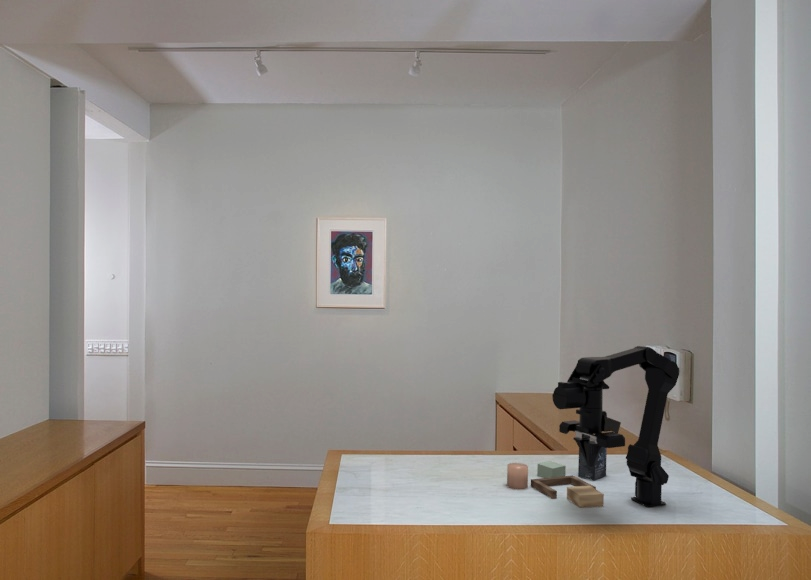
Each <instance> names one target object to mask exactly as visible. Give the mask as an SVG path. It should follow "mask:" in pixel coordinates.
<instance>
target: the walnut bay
mask: <svg viewBox="0 0 811 580" xmlns="http://www.w3.org/2000/svg"><path fill="white" fill-rule="evenodd" d="M565 485H566V486H567V485H572V486H573V487H575V486H591V487H593V488H595V489H596V490H597V486H595V485H592V484H591V483H589V482H586V481H585V480H583V479H580V478H579V477H576V476H574V475H565V476H561V477H551V478H542V477H539V478H533V479H530V487H531V488H532V489H534V490H536V491H538V492H539V493H542V494H544V495H545V496H547V497H548V498H550V499H552V500H554V499H557V496H558V495H557V494H558V492H557V490H556V489H555V488H552V487H555V486H565Z"/></svg>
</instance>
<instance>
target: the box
mask: <svg viewBox="0 0 811 580" xmlns="http://www.w3.org/2000/svg"><path fill="white" fill-rule="evenodd" d="M607 450H608V448H605V447H601V449H600V451H599V453H598V455H597V458H596V460H595V463H594V466H593V467H589V466H588V465H587V463H586V461H585V459H584V457H583V454H582V452H581V450H580V448H579V447H578V468H577V470H578V471H577V476H578V478H579V477H580V478H582V479H586V480H590V481H593V482H594V481H596V480H598V479H601V478H604V477H607V452H608V451H607Z"/></svg>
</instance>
